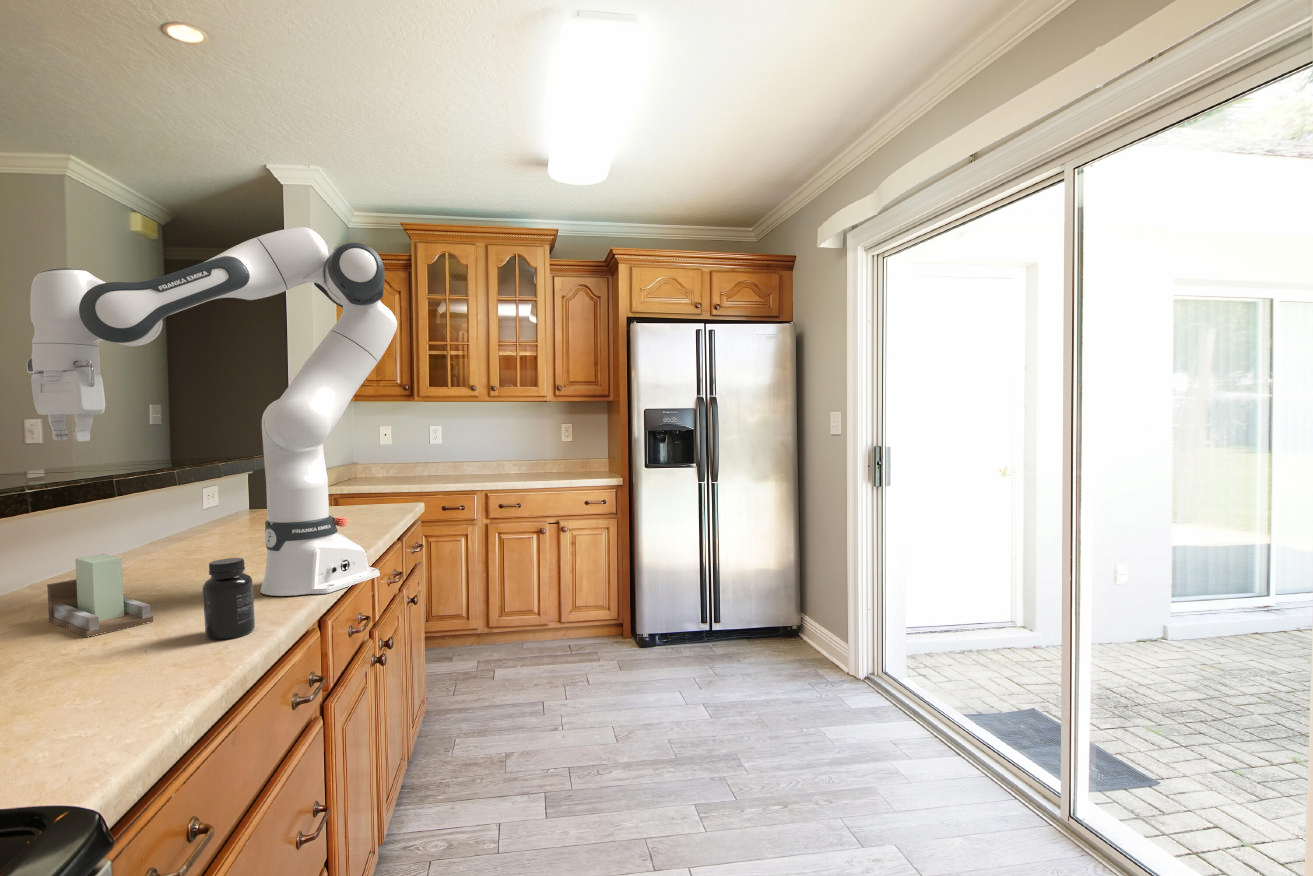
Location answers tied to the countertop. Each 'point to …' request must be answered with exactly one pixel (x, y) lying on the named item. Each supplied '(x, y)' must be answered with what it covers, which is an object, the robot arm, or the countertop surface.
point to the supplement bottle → (228, 600)
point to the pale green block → (100, 586)
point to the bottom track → (84, 623)
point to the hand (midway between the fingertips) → (71, 440)
